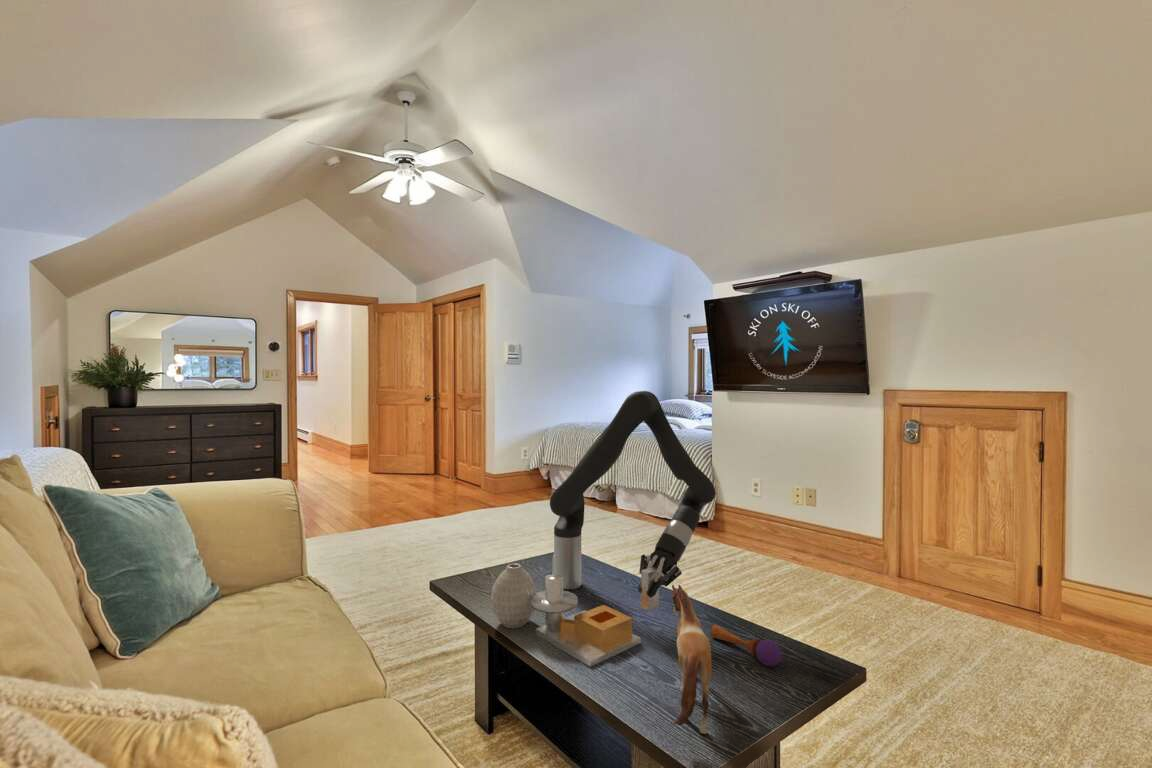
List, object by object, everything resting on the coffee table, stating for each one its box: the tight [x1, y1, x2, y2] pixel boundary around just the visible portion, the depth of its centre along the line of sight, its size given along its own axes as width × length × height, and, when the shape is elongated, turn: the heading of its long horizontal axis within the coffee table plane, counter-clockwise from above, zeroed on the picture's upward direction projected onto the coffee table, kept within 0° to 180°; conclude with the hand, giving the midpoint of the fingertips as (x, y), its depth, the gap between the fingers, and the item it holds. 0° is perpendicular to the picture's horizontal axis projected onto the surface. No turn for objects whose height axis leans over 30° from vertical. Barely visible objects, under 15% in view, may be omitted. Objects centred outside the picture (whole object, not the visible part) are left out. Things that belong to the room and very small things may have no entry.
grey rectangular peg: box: [640, 567, 660, 611], centre depth 148 cm, size 2×4×10 cm, turn 131°
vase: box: [490, 563, 537, 630], centre depth 155 cm, size 13×13×17 cm
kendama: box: [709, 624, 783, 667], centre depth 139 cm, size 6×6×20 cm
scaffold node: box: [530, 573, 641, 668], centre depth 147 cm, size 26×20×16 cm
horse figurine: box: [671, 584, 712, 735], centre depth 117 cm, size 31×8×21 cm, turn 170°
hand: (644, 593), depth 146 cm, fingers closed on grey rectangular peg, 2 cm apart
